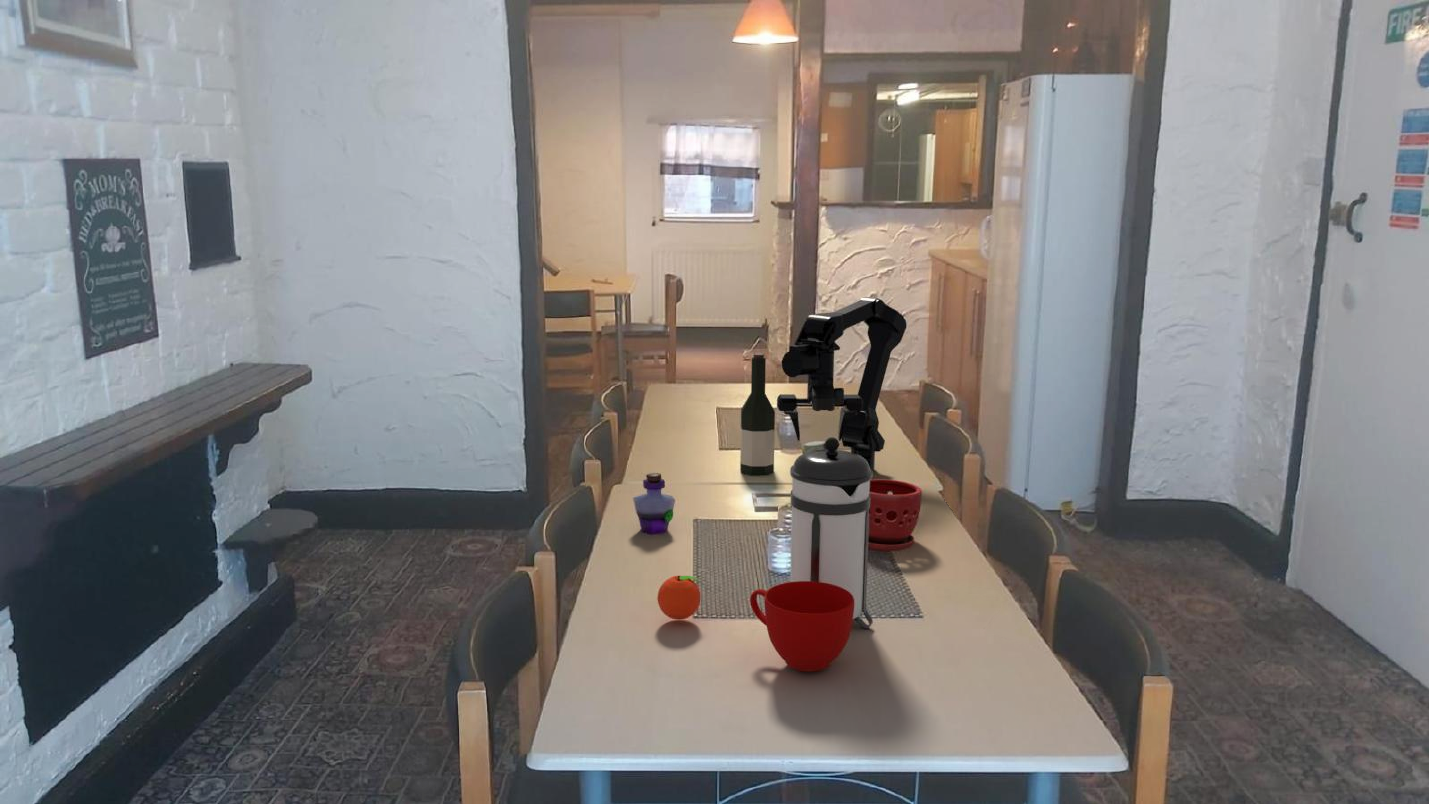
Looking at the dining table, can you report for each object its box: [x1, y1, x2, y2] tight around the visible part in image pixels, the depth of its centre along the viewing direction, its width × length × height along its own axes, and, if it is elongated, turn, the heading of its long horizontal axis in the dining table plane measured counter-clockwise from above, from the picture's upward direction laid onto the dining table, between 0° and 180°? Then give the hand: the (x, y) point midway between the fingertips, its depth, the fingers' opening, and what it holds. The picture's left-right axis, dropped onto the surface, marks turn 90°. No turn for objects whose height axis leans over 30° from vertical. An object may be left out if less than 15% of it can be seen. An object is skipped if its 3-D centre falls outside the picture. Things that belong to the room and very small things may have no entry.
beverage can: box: [801, 440, 826, 455], centre depth 244 cm, size 6×7×12 cm
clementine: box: [657, 575, 706, 620], centre depth 173 cm, size 8×7×7 cm
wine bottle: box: [739, 352, 776, 477], centre depth 253 cm, size 8×8×30 cm
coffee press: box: [789, 436, 874, 630], centre depth 172 cm, size 17×16×30 cm
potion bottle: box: [632, 472, 676, 535], centre depth 215 cm, size 9×9×12 cm
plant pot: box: [868, 478, 923, 552], centre depth 209 cm, size 13×13×12 cm
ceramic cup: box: [749, 581, 854, 672], centre depth 158 cm, size 13×17×10 cm
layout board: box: [751, 492, 893, 512], centre depth 233 cm, size 12×33×2 cm, turn 91°
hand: (819, 440), depth 242 cm, fingers open, 9 cm apart
